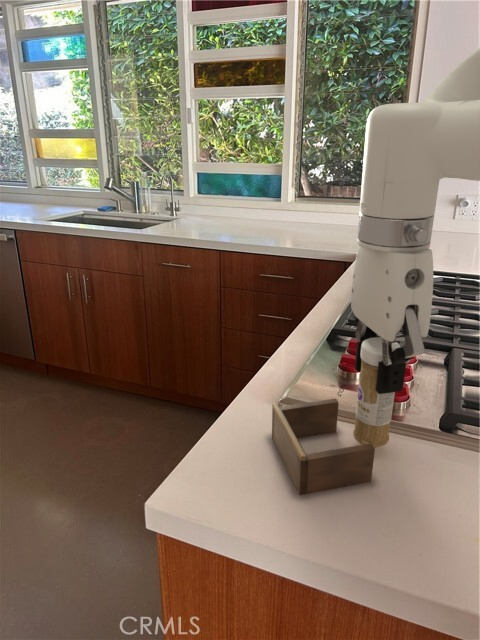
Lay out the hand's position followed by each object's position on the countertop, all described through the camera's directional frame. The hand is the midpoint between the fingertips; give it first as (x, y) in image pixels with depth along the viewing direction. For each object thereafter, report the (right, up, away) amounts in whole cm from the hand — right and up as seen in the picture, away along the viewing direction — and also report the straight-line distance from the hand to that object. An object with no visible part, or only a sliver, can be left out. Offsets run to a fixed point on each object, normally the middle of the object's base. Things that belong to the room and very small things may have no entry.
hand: (377, 378), depth 56 cm
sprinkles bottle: (0, -8, +3) cm, 9 cm away
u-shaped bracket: (-6, -11, +3) cm, 13 cm away
